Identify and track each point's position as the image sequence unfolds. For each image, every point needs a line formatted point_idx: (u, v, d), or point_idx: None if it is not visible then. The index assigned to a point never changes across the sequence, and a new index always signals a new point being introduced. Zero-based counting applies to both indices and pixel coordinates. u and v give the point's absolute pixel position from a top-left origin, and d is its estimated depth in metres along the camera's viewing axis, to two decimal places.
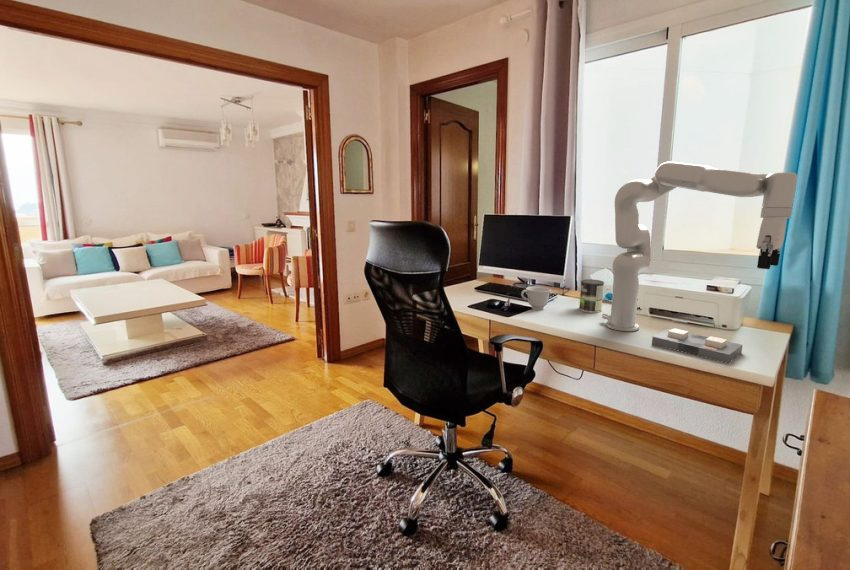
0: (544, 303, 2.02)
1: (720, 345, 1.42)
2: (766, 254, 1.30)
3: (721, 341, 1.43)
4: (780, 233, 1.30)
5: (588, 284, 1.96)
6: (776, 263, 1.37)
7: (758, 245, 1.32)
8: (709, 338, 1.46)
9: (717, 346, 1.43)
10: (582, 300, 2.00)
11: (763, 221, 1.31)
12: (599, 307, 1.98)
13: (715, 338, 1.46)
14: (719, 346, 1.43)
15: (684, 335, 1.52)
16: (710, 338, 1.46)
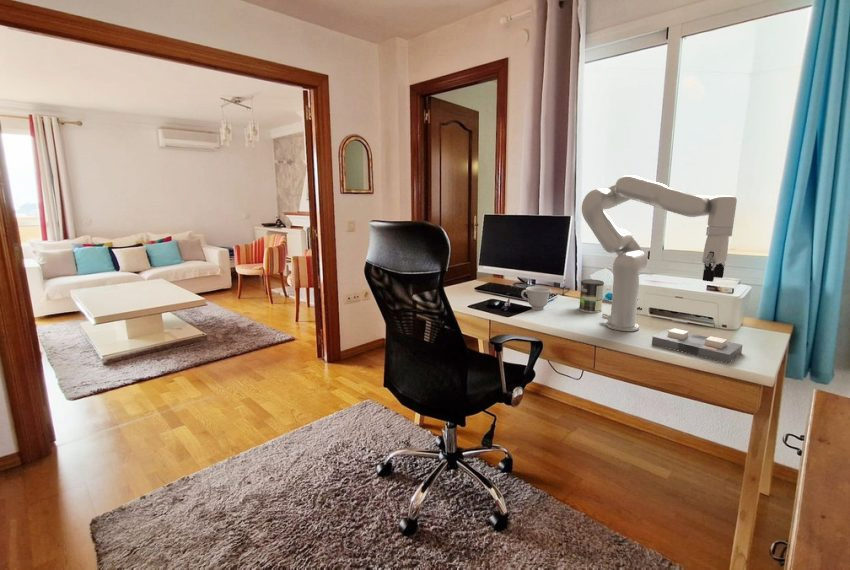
0: (544, 303, 2.02)
1: (720, 345, 1.42)
2: (709, 268, 1.46)
3: (721, 341, 1.43)
4: (722, 249, 1.46)
5: (588, 284, 1.96)
6: (721, 276, 1.53)
7: (703, 260, 1.48)
8: (709, 338, 1.46)
9: (717, 346, 1.43)
10: (582, 300, 2.00)
11: (707, 239, 1.47)
12: (599, 307, 1.98)
13: (715, 338, 1.46)
14: (719, 346, 1.43)
15: (684, 335, 1.52)
16: (710, 338, 1.46)
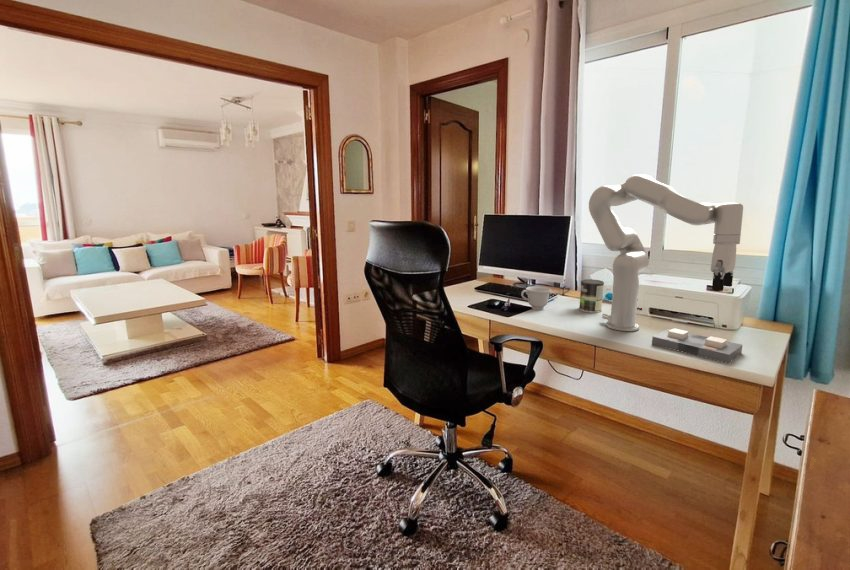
0: (544, 303, 2.02)
1: (720, 345, 1.42)
2: (719, 277, 1.42)
3: (721, 341, 1.43)
4: (730, 258, 1.42)
5: (588, 284, 1.96)
6: (730, 284, 1.49)
7: (712, 269, 1.45)
8: (709, 338, 1.46)
9: (717, 346, 1.43)
10: (582, 300, 2.00)
11: (715, 247, 1.44)
12: (599, 307, 1.98)
13: (715, 338, 1.46)
14: (719, 346, 1.43)
15: (684, 335, 1.52)
16: (710, 338, 1.46)
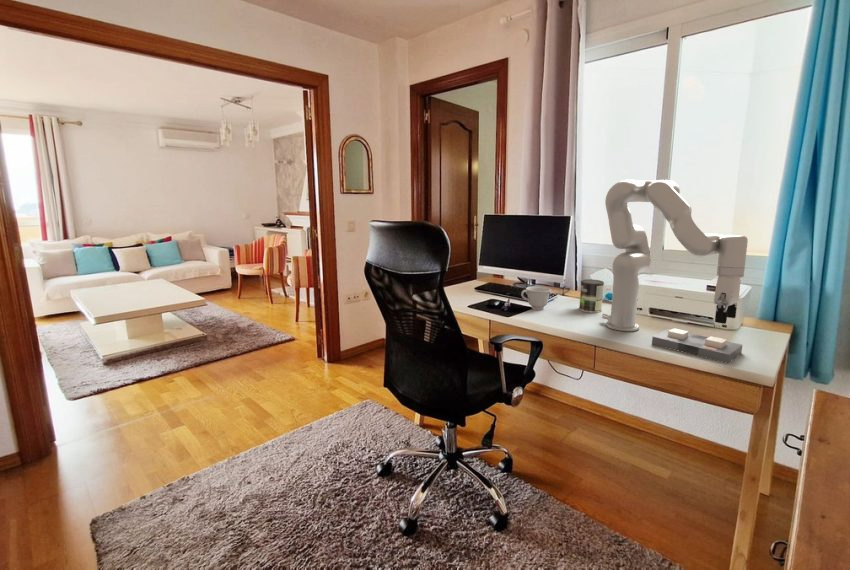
0: (544, 303, 2.02)
1: (720, 345, 1.42)
2: (722, 310, 1.41)
3: (721, 341, 1.43)
4: (734, 291, 1.41)
5: (588, 284, 1.96)
6: (733, 316, 1.48)
7: (715, 301, 1.43)
8: (709, 338, 1.46)
9: (717, 346, 1.43)
10: (582, 300, 2.00)
11: (718, 279, 1.42)
12: (599, 307, 1.98)
13: (715, 338, 1.46)
14: (719, 346, 1.43)
15: (684, 335, 1.52)
16: (710, 338, 1.46)
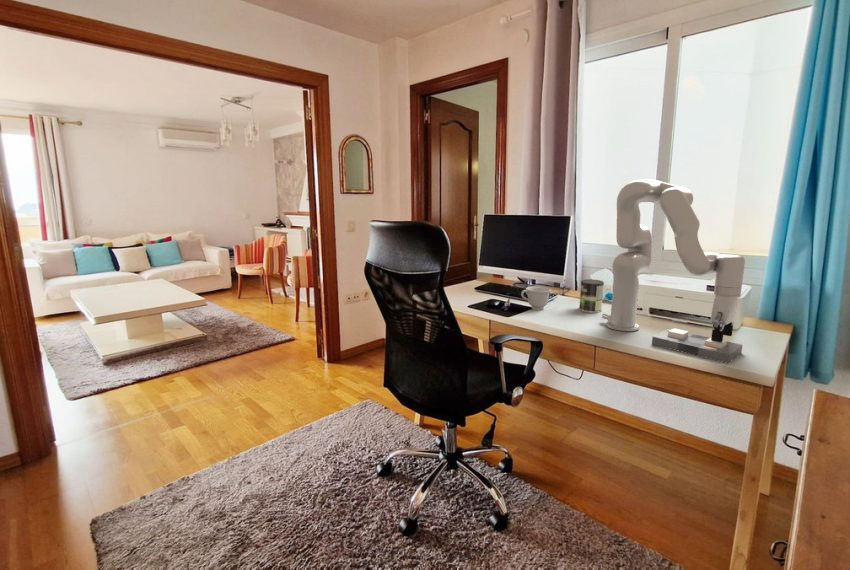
0: (544, 303, 2.02)
1: (720, 346, 1.42)
2: (718, 329, 1.42)
3: (721, 342, 1.43)
4: (731, 310, 1.42)
5: (588, 284, 1.96)
6: (730, 334, 1.49)
7: (712, 320, 1.45)
8: (709, 339, 1.46)
9: (717, 347, 1.43)
10: (582, 300, 2.00)
11: (715, 298, 1.44)
12: (599, 307, 1.98)
13: None
14: (719, 347, 1.43)
15: (684, 335, 1.52)
16: (710, 339, 1.46)
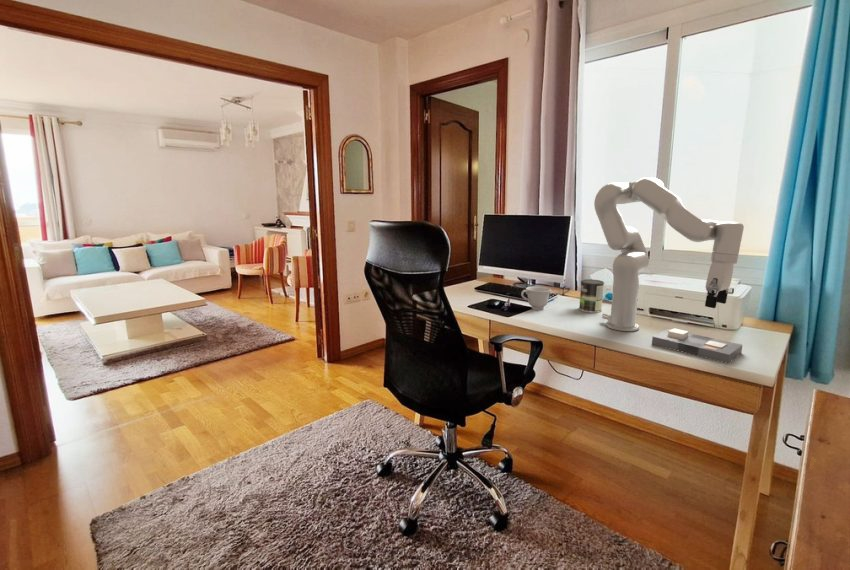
0: (544, 303, 2.02)
1: None
2: (712, 295, 1.44)
3: (720, 345, 1.43)
4: (726, 276, 1.44)
5: (588, 284, 1.96)
6: (724, 301, 1.51)
7: (706, 286, 1.47)
8: (708, 342, 1.47)
9: None
10: (582, 300, 2.00)
11: (712, 265, 1.45)
12: (599, 307, 1.98)
13: (714, 342, 1.46)
14: None
15: (684, 335, 1.52)
16: (709, 342, 1.47)
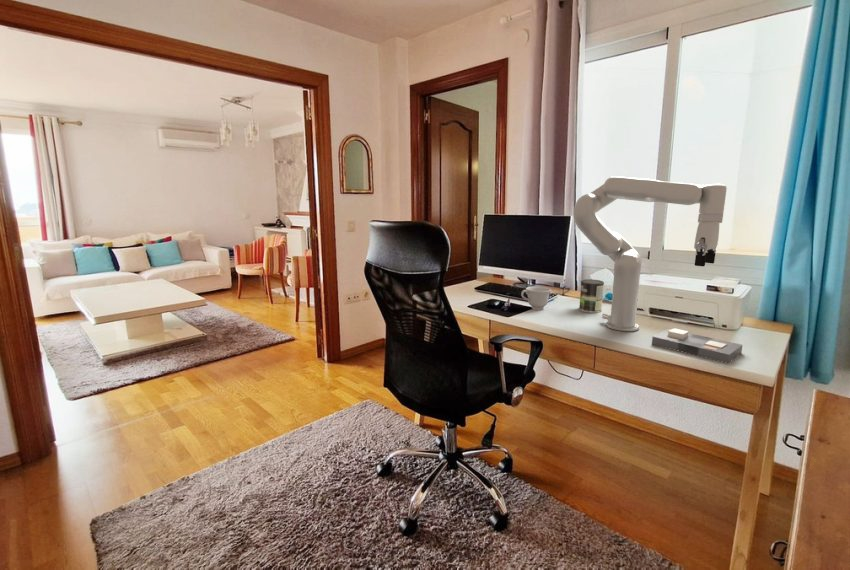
0: (544, 303, 2.02)
1: None
2: (701, 253, 1.52)
3: (720, 345, 1.43)
4: (713, 236, 1.52)
5: (588, 284, 1.96)
6: (712, 261, 1.60)
7: (695, 246, 1.55)
8: (708, 342, 1.47)
9: None
10: (582, 300, 2.00)
11: (699, 225, 1.54)
12: (599, 307, 1.98)
13: (714, 342, 1.46)
14: None
15: (684, 335, 1.52)
16: (709, 342, 1.47)
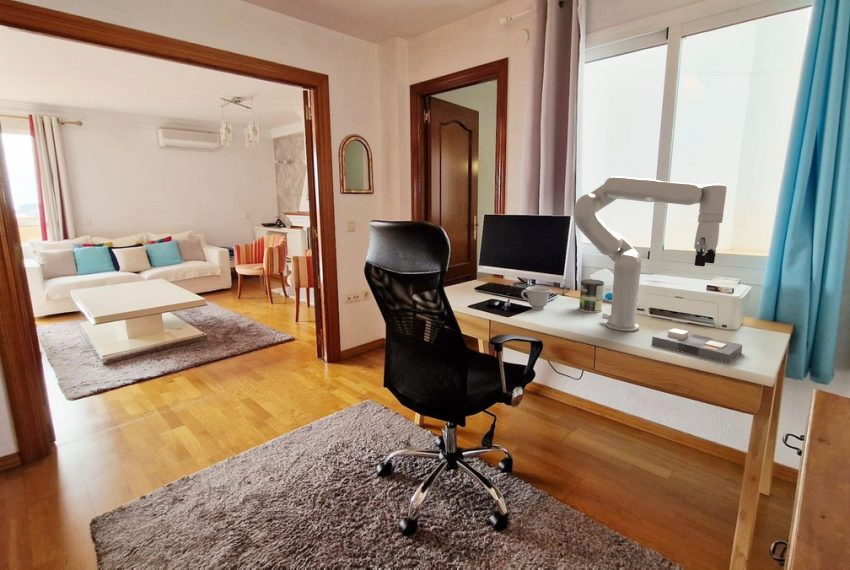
0: (544, 303, 2.02)
1: None
2: (701, 253, 1.52)
3: (720, 345, 1.43)
4: (713, 236, 1.52)
5: (588, 284, 1.96)
6: (712, 261, 1.60)
7: (695, 246, 1.55)
8: (708, 342, 1.47)
9: None
10: (582, 300, 2.00)
11: (699, 225, 1.54)
12: (599, 307, 1.98)
13: (714, 342, 1.46)
14: None
15: (684, 335, 1.52)
16: (709, 342, 1.47)
